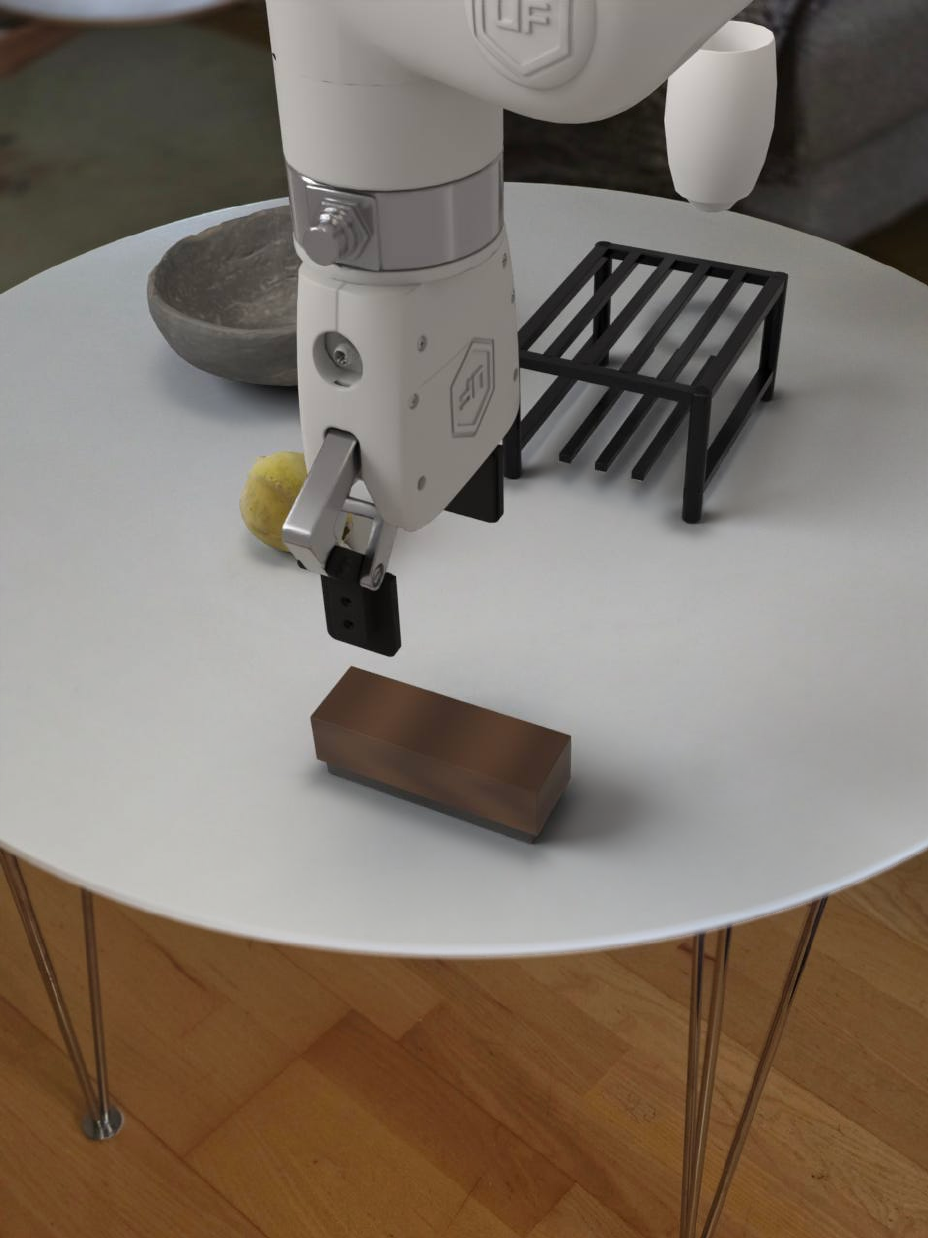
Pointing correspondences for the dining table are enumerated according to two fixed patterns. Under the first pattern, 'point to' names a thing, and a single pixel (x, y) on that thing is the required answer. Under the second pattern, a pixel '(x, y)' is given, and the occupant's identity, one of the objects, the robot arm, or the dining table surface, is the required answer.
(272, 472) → the fruit
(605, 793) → the dining table surface
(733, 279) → the rack
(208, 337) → the bowl
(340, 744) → the brown wooden block
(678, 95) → the cup
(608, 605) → the dining table surface
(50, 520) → the dining table surface
